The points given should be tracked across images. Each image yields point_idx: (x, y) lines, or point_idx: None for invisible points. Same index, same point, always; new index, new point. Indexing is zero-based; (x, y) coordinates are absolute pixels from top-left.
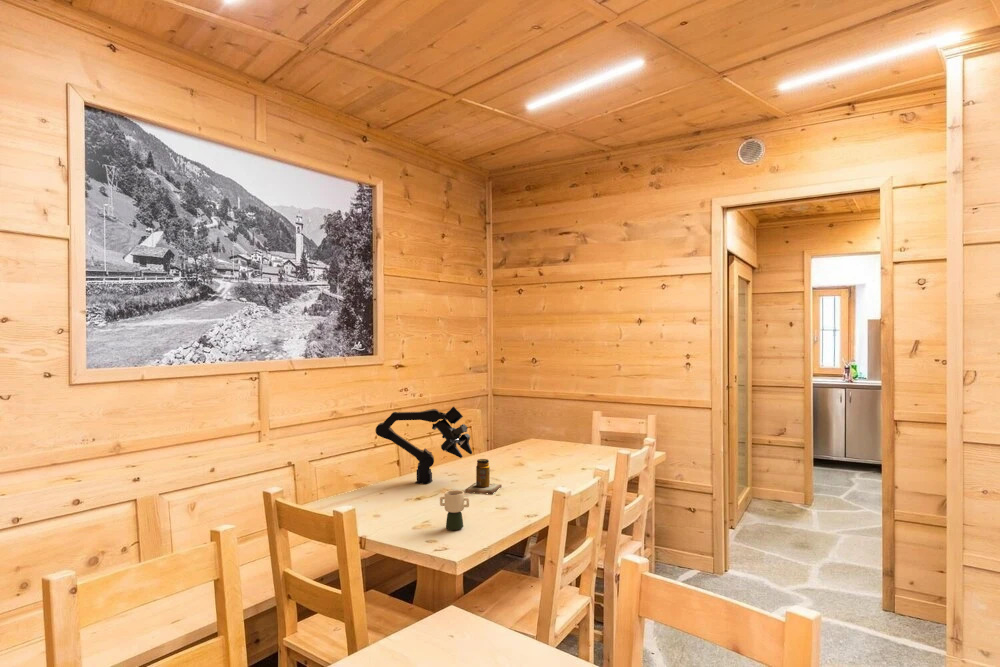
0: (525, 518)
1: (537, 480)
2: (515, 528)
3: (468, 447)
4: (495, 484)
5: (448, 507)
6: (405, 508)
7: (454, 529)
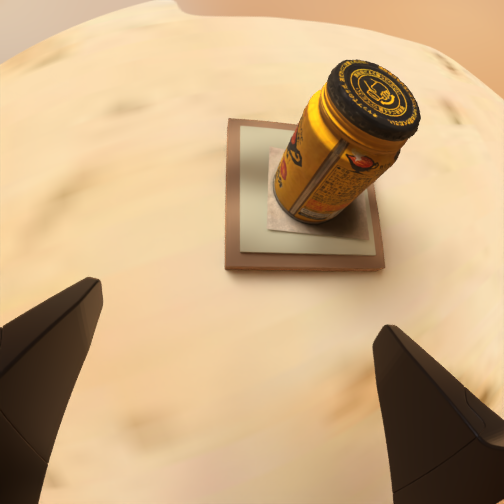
0: (463, 75)
1: (90, 50)
2: (499, 97)
3: (41, 351)
4: (248, 139)
5: None
6: None
7: None
